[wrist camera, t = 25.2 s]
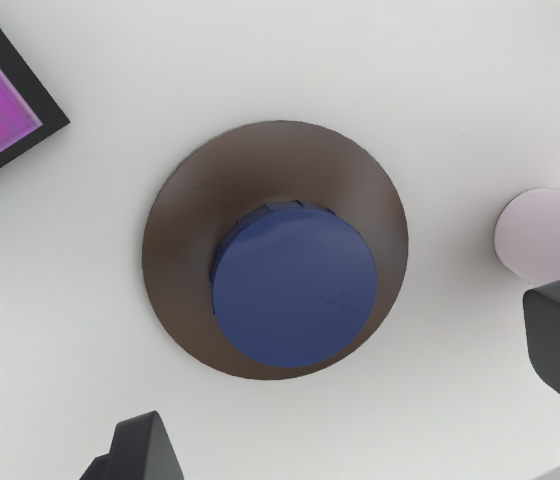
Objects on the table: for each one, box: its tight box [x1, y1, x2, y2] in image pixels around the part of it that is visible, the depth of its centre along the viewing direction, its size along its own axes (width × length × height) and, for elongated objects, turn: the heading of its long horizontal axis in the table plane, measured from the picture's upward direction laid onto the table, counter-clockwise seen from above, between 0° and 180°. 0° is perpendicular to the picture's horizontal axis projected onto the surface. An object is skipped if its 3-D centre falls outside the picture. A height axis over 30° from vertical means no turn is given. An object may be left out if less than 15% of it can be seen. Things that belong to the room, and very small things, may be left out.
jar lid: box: [209, 200, 377, 367], centre depth 17 cm, size 6×6×1 cm
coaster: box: [142, 120, 408, 380], centre depth 18 cm, size 10×10×1 cm
